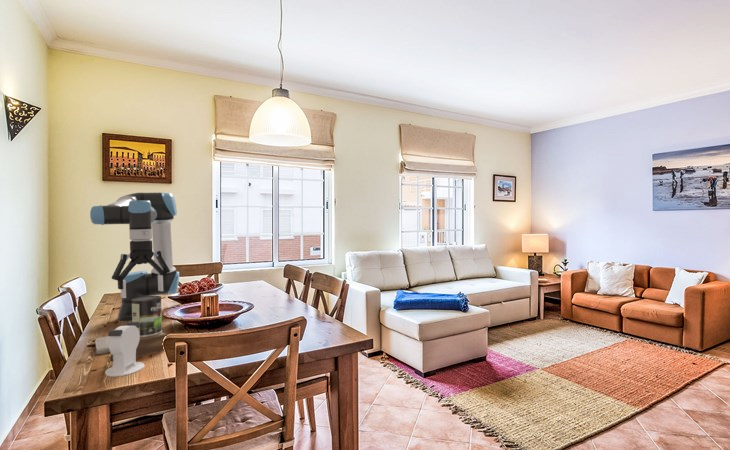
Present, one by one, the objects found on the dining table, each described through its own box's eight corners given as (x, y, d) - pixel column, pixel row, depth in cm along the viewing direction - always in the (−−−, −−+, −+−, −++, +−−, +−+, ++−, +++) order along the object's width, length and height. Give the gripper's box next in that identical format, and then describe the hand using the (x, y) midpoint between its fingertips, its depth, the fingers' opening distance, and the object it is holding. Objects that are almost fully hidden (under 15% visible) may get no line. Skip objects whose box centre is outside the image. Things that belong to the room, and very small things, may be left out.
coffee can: (167, 329, 153) (166, 295, 152) (151, 337, 142) (151, 301, 142) (143, 329, 153) (142, 295, 153) (126, 337, 143) (125, 301, 143)
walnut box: (121, 352, 145) (120, 336, 145) (153, 343, 155) (152, 328, 155) (134, 359, 138) (133, 342, 138) (167, 349, 148) (167, 333, 148)
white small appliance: (120, 362, 135) (119, 321, 134) (152, 361, 135) (150, 320, 134) (97, 376, 123) (95, 331, 122) (131, 376, 123) (130, 331, 122)
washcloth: (128, 337, 163) (127, 330, 163) (133, 349, 149) (133, 341, 149) (94, 343, 155) (94, 336, 155) (96, 356, 141) (96, 348, 141)
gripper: (108, 243, 133) (110, 302, 134) (177, 238, 153) (179, 289, 154) (100, 242, 137) (102, 299, 138) (168, 237, 157) (170, 287, 158)
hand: (142, 294), depth 146 cm, fingers open, 13 cm apart
